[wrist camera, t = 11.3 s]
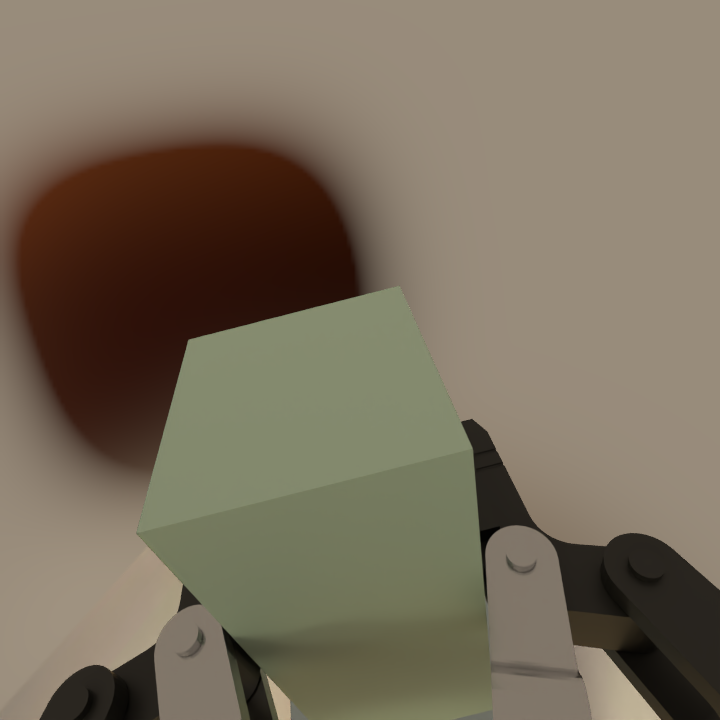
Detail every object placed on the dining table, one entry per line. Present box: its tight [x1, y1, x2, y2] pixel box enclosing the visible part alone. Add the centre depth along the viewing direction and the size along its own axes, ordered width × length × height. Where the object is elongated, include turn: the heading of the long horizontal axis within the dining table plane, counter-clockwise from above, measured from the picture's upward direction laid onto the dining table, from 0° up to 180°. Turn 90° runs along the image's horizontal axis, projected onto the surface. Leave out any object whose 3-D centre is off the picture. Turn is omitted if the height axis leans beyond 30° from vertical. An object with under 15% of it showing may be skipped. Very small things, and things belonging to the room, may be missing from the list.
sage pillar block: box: [136, 286, 493, 720], centre depth 11 cm, size 4×4×11 cm
